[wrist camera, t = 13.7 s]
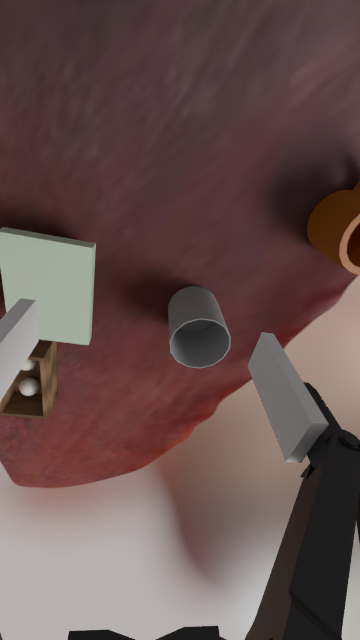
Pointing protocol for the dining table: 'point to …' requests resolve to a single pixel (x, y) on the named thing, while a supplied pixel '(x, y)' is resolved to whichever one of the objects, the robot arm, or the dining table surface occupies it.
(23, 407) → the walnut box
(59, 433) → the dining table surface
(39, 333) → the lid
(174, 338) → the cup
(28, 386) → the ball
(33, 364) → the ball
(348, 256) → the mug
